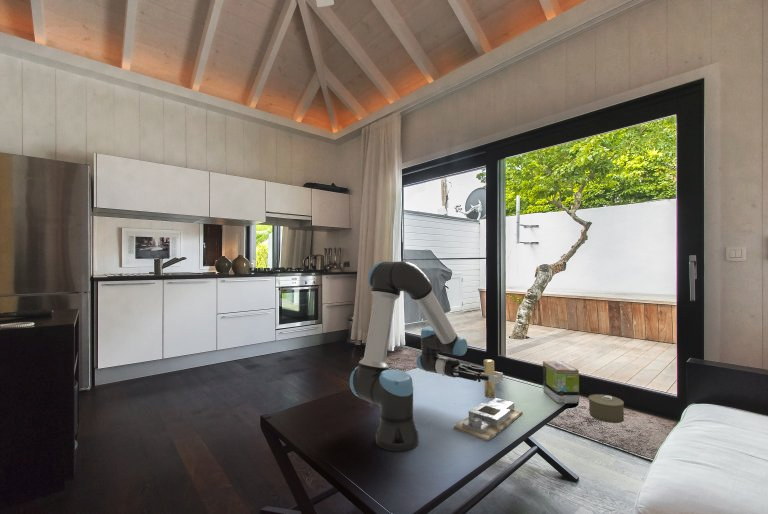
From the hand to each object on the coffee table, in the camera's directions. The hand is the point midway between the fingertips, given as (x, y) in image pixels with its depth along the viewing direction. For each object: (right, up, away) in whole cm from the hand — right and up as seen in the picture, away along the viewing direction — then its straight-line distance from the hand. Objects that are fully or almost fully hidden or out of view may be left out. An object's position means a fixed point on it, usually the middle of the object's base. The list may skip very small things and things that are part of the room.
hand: (499, 378), depth 135 cm
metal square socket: (-3, -18, +2) cm, 18 cm away
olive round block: (+44, -17, +4) cm, 48 cm away
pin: (-3, -8, +3) cm, 9 cm away
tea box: (+36, -18, +25) cm, 48 cm away
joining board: (-3, -18, +2) cm, 18 cm away
